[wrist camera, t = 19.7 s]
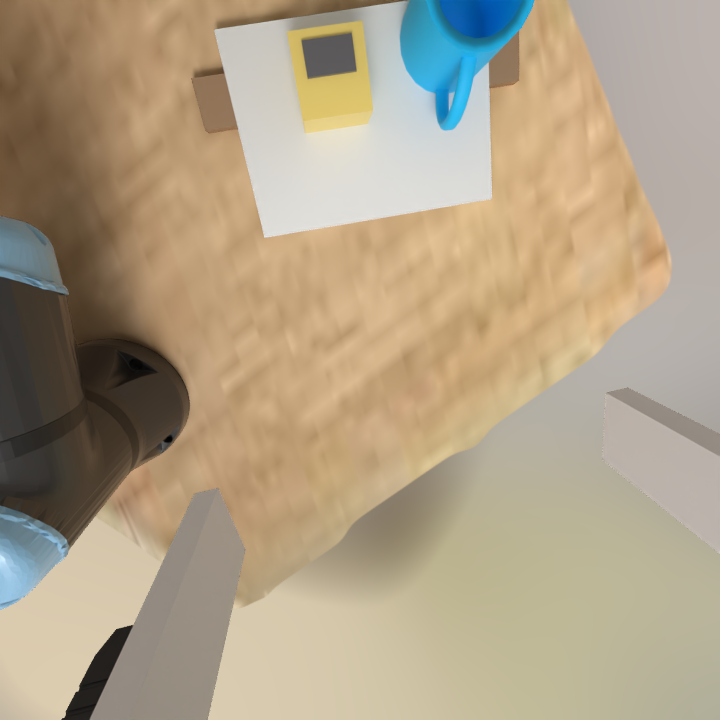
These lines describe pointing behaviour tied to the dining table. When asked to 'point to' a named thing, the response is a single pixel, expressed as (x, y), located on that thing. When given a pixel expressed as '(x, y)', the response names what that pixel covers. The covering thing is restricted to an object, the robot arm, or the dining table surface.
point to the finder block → (331, 76)
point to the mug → (456, 45)
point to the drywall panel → (349, 128)
